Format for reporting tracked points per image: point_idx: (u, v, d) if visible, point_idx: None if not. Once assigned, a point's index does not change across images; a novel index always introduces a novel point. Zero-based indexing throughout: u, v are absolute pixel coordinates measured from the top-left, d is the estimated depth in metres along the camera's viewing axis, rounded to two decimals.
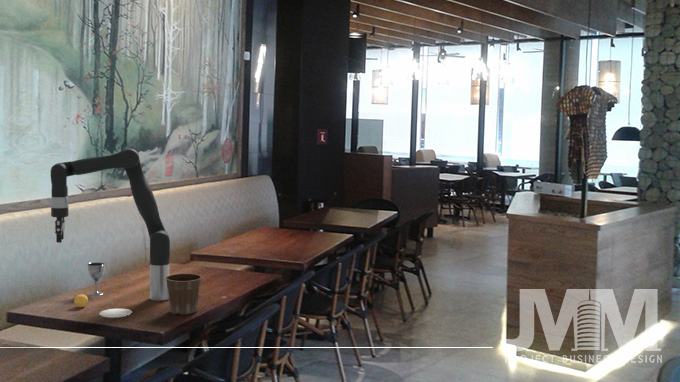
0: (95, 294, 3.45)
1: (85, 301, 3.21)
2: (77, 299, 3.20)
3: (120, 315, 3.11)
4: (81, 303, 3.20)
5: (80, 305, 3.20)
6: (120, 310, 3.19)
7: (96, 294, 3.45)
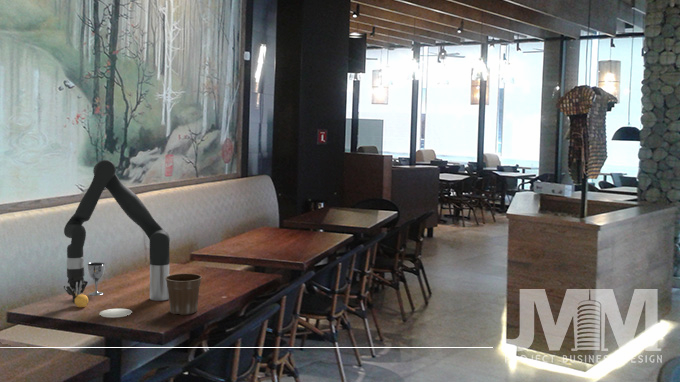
0: (95, 294, 3.45)
1: (85, 301, 3.21)
2: (77, 299, 3.20)
3: (120, 315, 3.11)
4: (81, 303, 3.20)
5: (80, 305, 3.20)
6: (120, 310, 3.19)
7: (96, 294, 3.45)
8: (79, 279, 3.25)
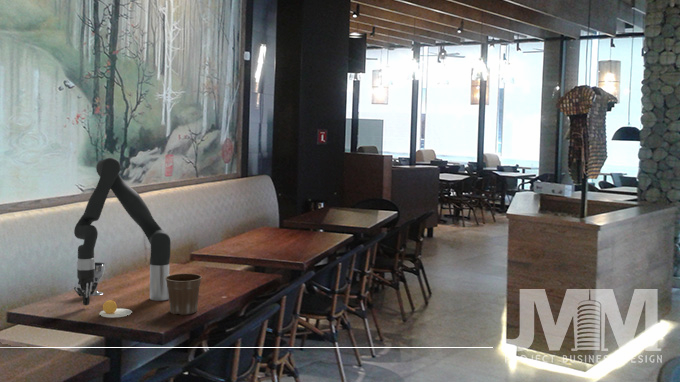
0: (95, 294, 3.45)
1: (113, 303, 3.13)
2: (105, 304, 3.12)
3: (120, 315, 3.11)
4: (110, 306, 3.12)
5: (110, 309, 3.12)
6: (120, 310, 3.19)
7: (96, 294, 3.45)
8: (89, 280, 3.21)
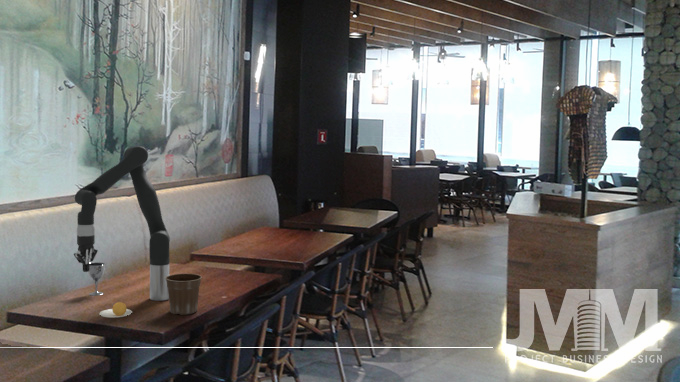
0: (95, 294, 3.45)
1: (120, 315, 3.11)
2: (117, 311, 3.09)
3: None
4: (116, 314, 3.10)
5: (114, 313, 3.10)
6: None
7: (96, 294, 3.45)
8: (89, 247, 3.20)
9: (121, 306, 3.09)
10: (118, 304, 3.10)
